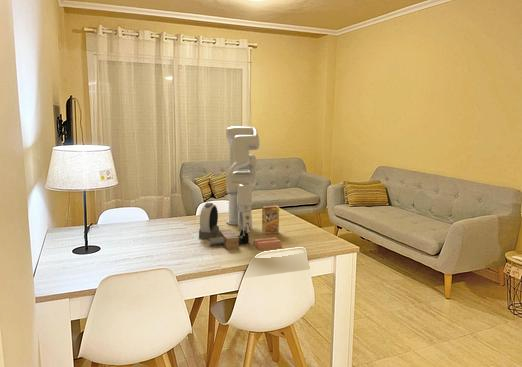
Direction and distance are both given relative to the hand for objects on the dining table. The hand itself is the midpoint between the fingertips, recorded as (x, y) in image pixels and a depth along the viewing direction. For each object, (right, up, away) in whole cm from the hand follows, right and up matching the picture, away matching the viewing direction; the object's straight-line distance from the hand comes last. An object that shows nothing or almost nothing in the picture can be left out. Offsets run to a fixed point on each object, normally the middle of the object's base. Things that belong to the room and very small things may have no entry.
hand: (244, 241), depth 208 cm
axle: (-7, +1, -3) cm, 8 cm away
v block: (+12, -1, -5) cm, 13 cm away
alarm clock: (-20, +2, +11) cm, 22 cm away
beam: (-8, -1, -3) cm, 9 cm away
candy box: (+14, +2, +18) cm, 23 cm away
